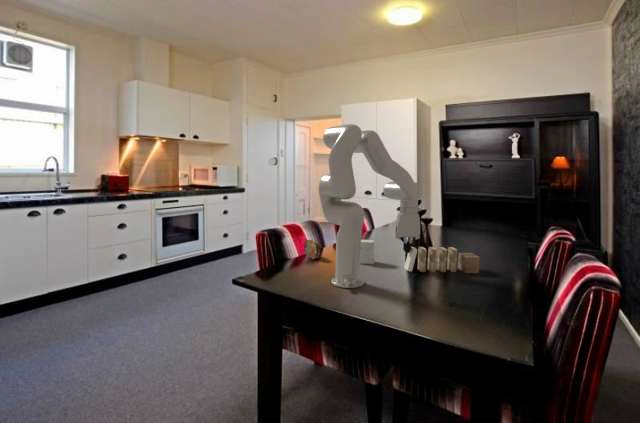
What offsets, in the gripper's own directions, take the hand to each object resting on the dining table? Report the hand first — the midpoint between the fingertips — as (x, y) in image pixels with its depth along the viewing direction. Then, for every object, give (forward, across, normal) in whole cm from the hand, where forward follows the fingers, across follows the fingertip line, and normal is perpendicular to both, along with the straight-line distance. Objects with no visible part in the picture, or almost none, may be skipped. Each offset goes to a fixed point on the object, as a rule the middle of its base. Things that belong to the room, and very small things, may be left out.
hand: (406, 251), depth 160 cm
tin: (+8, +41, -23) cm, 48 cm away
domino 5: (+8, -20, 0) cm, 22 cm away
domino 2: (+8, -7, 0) cm, 11 cm away
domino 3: (+8, -11, 0) cm, 14 cm away
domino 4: (+8, -16, 0) cm, 18 cm away
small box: (+8, +16, -13) cm, 22 cm away
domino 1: (+8, -1, 0) cm, 8 cm away
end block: (+8, -28, 0) cm, 29 cm away
